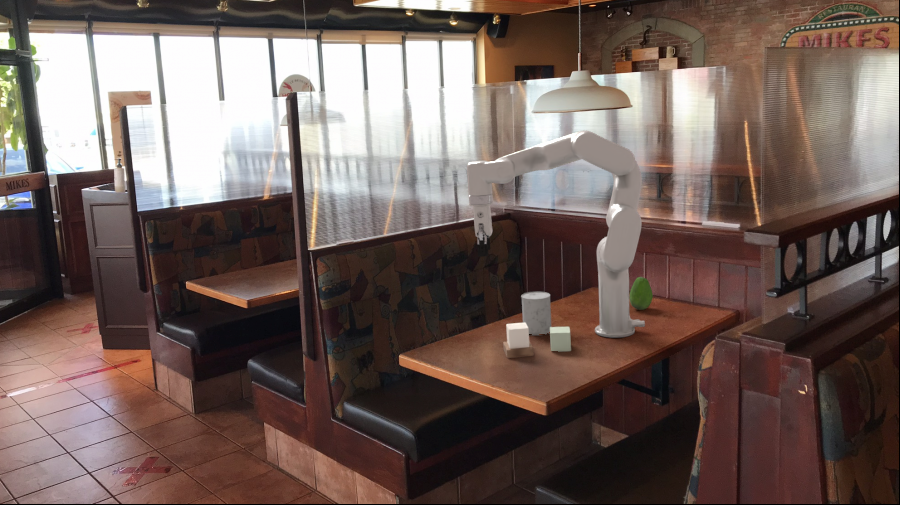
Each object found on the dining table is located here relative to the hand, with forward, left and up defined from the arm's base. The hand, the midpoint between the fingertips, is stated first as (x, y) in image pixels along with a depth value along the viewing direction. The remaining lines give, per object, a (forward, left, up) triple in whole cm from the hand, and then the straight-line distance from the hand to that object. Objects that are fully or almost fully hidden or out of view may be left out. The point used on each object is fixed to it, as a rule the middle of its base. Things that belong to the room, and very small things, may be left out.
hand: (484, 253), depth 233 cm
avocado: (-53, -27, -29) cm, 66 cm away
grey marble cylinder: (-16, -6, -29) cm, 33 cm away
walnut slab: (-10, +15, -29) cm, 34 cm away
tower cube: (-10, +15, -26) cm, 32 cm away
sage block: (-23, +12, -29) cm, 38 cm away
